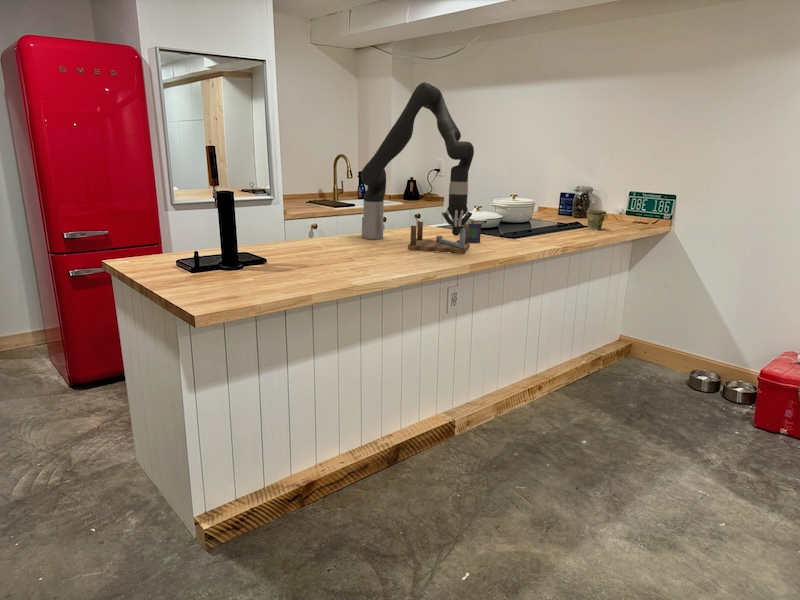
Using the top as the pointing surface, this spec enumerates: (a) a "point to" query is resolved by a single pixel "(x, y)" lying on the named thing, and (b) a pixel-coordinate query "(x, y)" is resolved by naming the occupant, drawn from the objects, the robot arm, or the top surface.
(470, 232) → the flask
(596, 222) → the ceramic cup
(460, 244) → the cylinder
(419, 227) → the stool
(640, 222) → the top surface
